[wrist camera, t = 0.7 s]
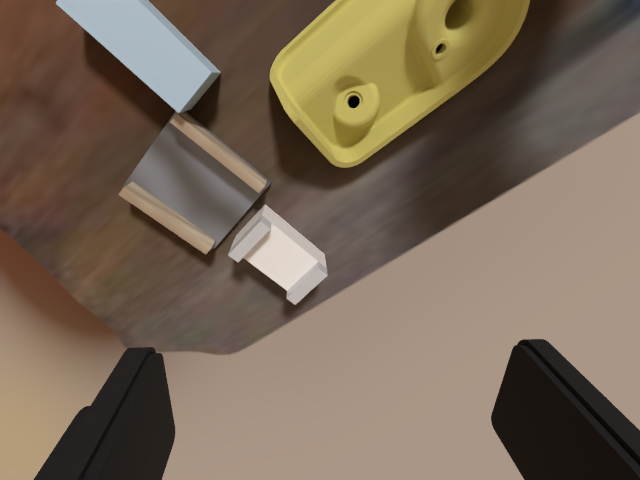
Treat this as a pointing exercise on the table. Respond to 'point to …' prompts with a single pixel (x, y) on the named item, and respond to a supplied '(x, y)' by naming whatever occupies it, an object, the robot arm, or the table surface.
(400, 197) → the table surface
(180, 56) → the light blue rectangular block
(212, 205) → the assembly jig
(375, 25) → the plastic component
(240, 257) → the white i-beam block
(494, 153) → the table surface
